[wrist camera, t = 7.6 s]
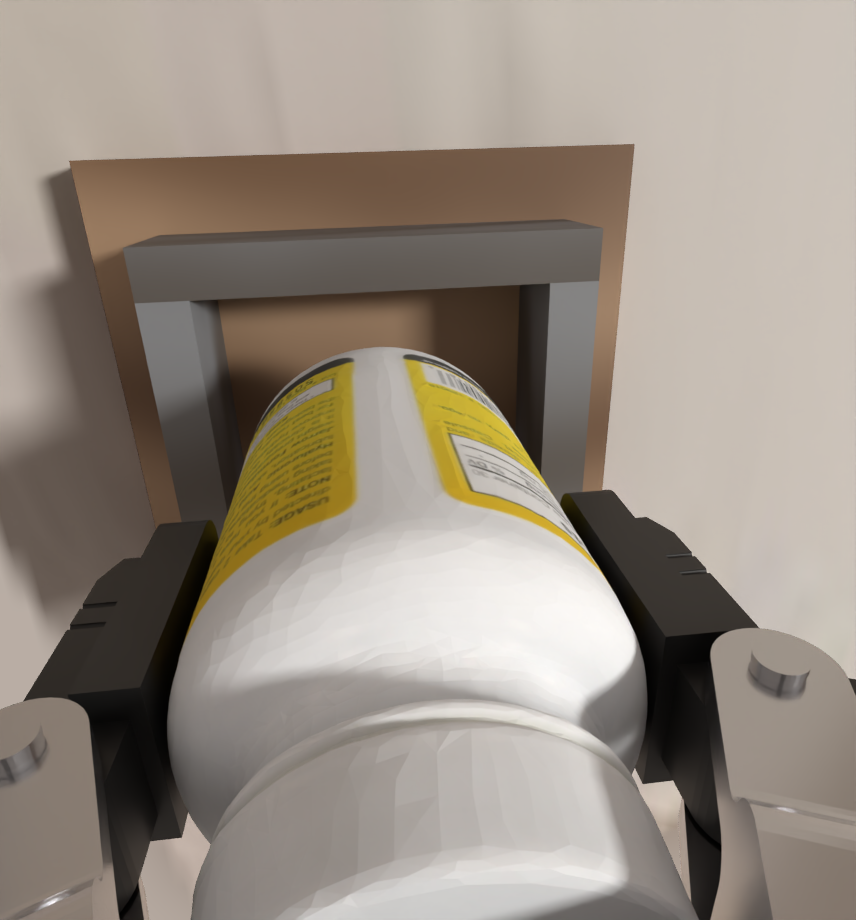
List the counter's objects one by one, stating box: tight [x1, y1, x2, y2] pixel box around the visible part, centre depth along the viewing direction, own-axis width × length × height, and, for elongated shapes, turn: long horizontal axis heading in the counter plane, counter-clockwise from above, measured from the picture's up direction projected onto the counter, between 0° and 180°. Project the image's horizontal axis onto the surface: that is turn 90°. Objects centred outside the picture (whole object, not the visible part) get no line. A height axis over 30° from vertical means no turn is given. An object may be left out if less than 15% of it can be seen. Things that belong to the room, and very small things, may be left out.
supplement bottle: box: [167, 347, 699, 920], centre depth 9 cm, size 5×5×10 cm
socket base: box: [69, 144, 634, 539], centre depth 16 cm, size 12×12×4 cm
